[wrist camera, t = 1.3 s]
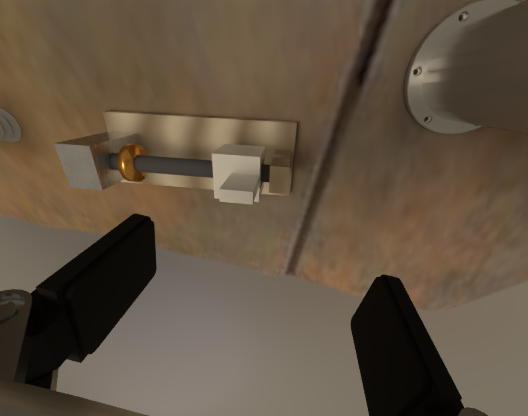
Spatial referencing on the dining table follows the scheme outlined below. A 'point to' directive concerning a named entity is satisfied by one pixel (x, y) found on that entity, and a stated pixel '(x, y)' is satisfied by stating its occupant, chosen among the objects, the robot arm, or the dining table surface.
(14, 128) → the chalice
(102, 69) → the dining table surface
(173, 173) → the dark grey rod
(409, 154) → the dining table surface
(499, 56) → the robot arm
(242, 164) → the sleeve
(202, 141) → the beige rod holder
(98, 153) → the connector
